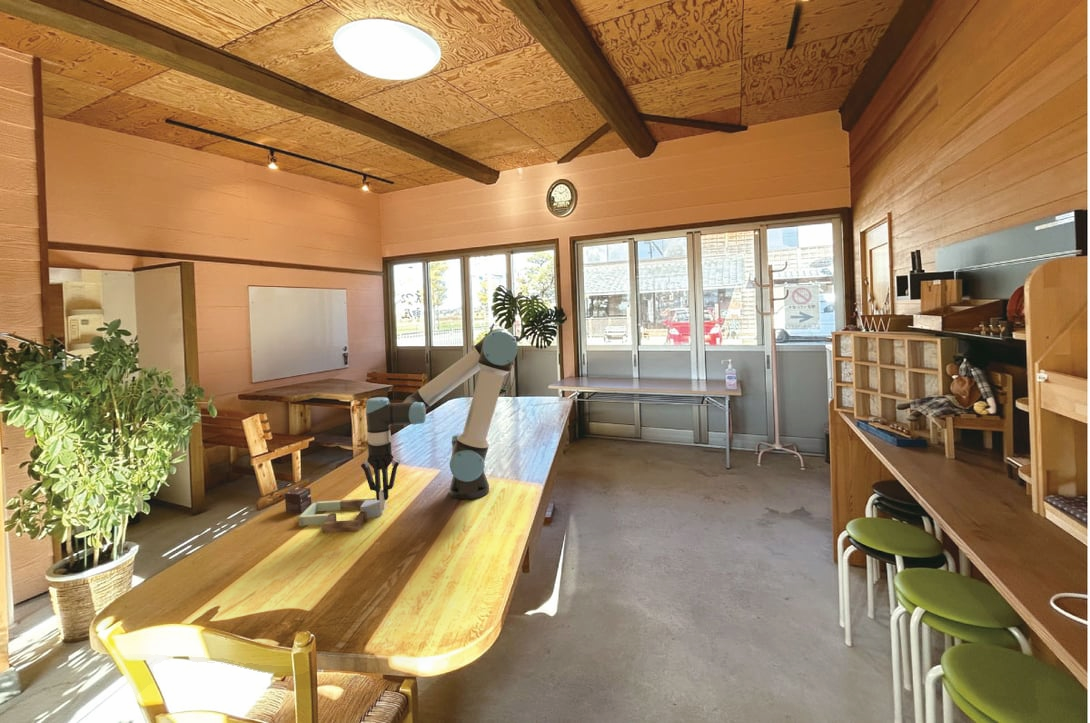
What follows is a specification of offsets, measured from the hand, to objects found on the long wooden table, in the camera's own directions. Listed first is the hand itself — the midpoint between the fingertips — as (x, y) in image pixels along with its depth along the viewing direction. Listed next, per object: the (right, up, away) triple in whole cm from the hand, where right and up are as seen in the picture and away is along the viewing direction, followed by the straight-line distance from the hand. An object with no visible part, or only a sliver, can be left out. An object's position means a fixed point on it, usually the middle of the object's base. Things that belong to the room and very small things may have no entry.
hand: (383, 508), depth 163 cm
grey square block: (-4, -2, 0) cm, 4 cm away
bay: (-20, -2, -2) cm, 20 cm away
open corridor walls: (-10, -2, -4) cm, 11 cm away
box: (-32, -2, +4) cm, 32 cm away
